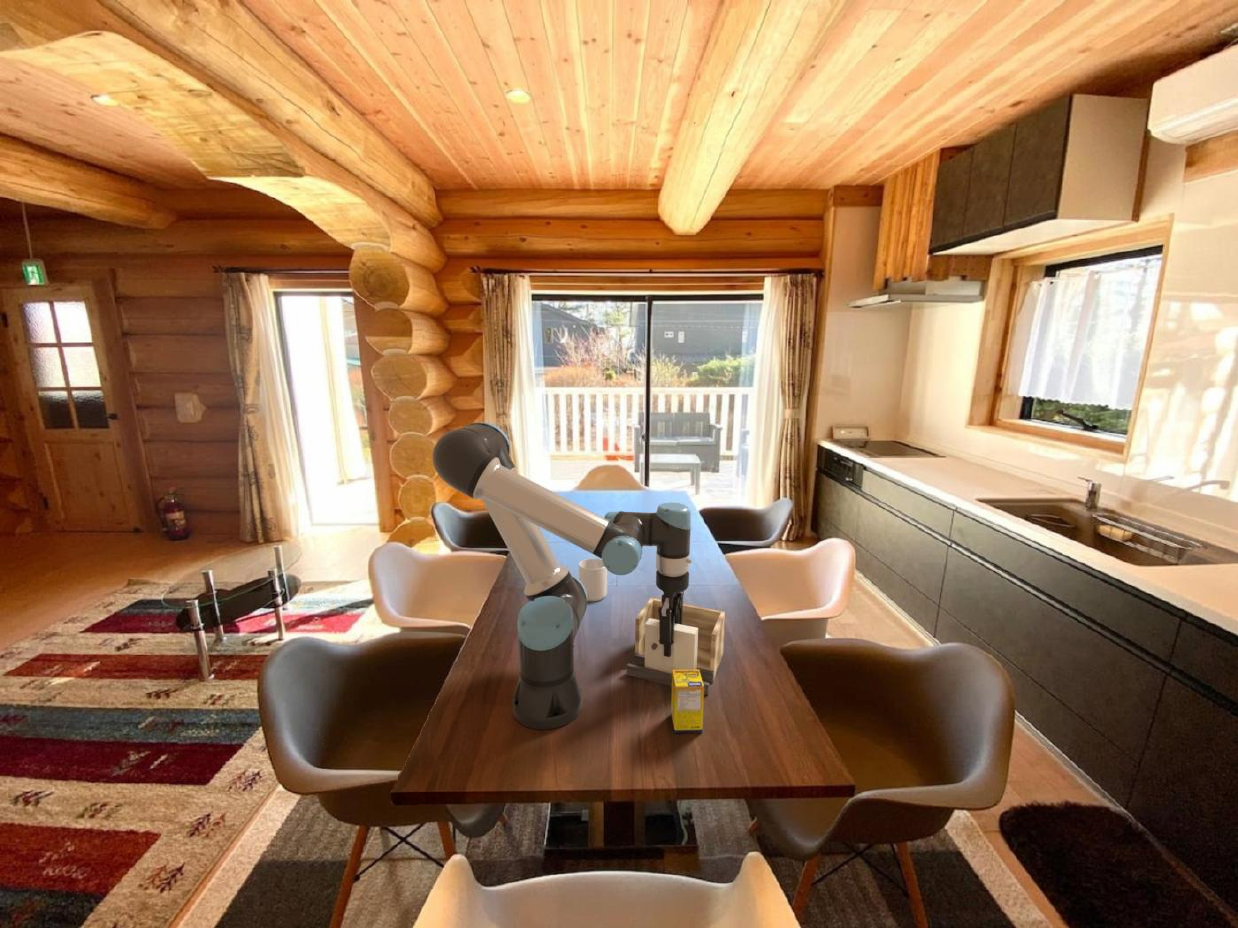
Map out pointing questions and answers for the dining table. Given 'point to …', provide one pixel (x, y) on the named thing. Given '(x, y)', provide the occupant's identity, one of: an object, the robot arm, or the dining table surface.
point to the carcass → (707, 650)
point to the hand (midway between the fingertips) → (670, 661)
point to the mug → (593, 578)
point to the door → (683, 647)
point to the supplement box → (687, 701)
